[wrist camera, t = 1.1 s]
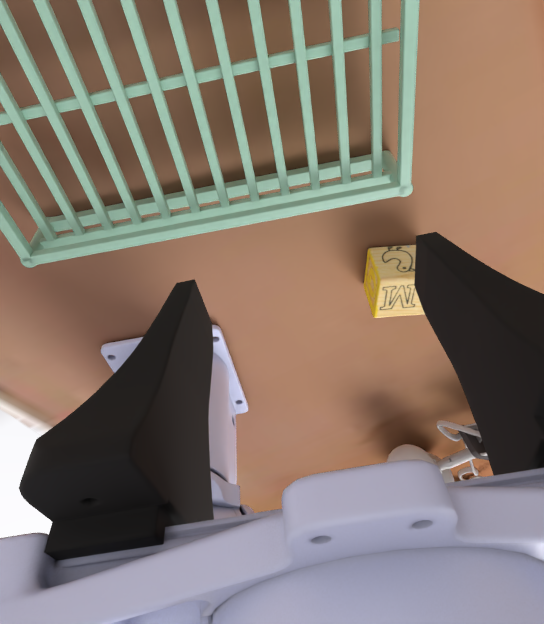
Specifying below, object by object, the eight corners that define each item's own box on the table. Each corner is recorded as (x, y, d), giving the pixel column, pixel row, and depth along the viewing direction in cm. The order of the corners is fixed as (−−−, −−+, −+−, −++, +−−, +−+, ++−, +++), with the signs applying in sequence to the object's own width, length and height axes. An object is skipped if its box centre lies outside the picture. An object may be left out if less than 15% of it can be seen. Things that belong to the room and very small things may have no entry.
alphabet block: (411, 283, 27) (428, 316, 25) (362, 287, 27) (373, 321, 25) (420, 241, 25) (439, 274, 23) (366, 246, 25) (380, 279, 23)
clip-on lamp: (508, 439, 47) (502, 381, 33) (546, 500, 43) (557, 462, 29) (406, 482, 50) (361, 444, 36) (434, 542, 46) (395, 526, 32)
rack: (396, -199, 14) (434, -223, 11) (391, 162, 22) (413, 195, 19) (-133, -69, 15) (-207, -64, 12) (47, 229, 23) (25, 269, 21)
